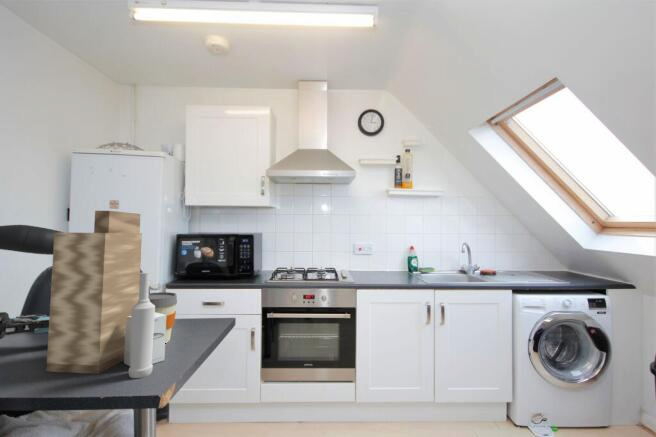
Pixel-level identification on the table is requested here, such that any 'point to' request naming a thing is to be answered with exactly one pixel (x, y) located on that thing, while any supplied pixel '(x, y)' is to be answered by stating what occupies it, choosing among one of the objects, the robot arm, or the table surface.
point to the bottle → (142, 332)
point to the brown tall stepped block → (93, 293)
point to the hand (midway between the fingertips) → (58, 320)
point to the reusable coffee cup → (165, 308)
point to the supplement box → (158, 339)
